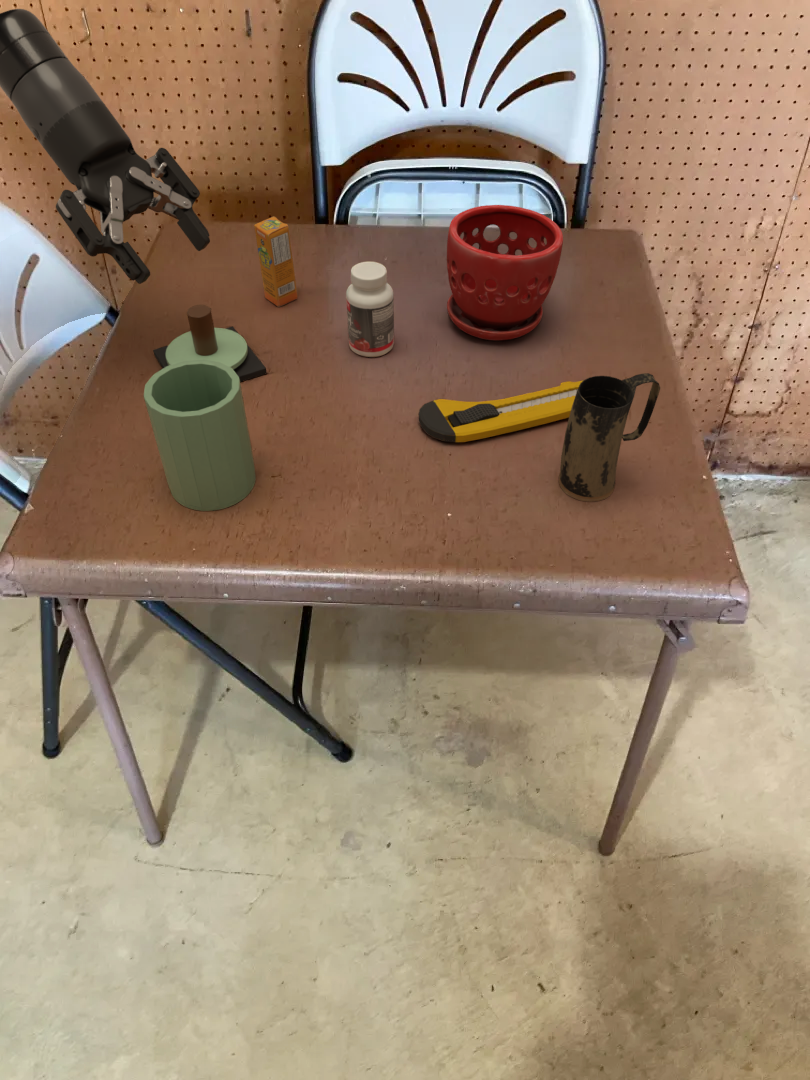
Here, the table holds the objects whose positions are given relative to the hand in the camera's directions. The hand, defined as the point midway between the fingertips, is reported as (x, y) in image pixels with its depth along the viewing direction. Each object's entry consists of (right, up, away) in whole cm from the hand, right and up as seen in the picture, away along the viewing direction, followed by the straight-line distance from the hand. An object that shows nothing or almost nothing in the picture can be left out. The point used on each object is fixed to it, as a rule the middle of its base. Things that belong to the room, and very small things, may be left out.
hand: (176, 262), depth 88 cm
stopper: (+1, -8, +8) cm, 11 cm away
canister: (+5, -23, -4) cm, 24 cm away
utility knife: (+36, -15, +4) cm, 40 cm away
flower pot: (+35, -2, +16) cm, 39 cm away
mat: (+1, -9, +9) cm, 13 cm away
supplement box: (+8, +2, +19) cm, 21 cm away
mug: (+43, -23, -4) cm, 49 cm away
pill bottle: (+20, -6, +12) cm, 24 cm away
